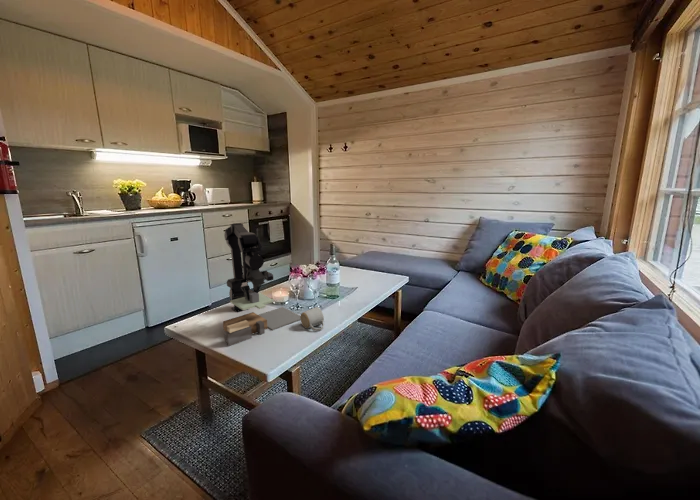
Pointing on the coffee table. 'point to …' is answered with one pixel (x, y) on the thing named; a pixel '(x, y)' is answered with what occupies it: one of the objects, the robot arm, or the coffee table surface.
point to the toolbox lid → (252, 301)
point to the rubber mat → (279, 318)
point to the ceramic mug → (312, 318)
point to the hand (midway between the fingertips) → (252, 298)
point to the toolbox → (255, 326)
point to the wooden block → (237, 326)
